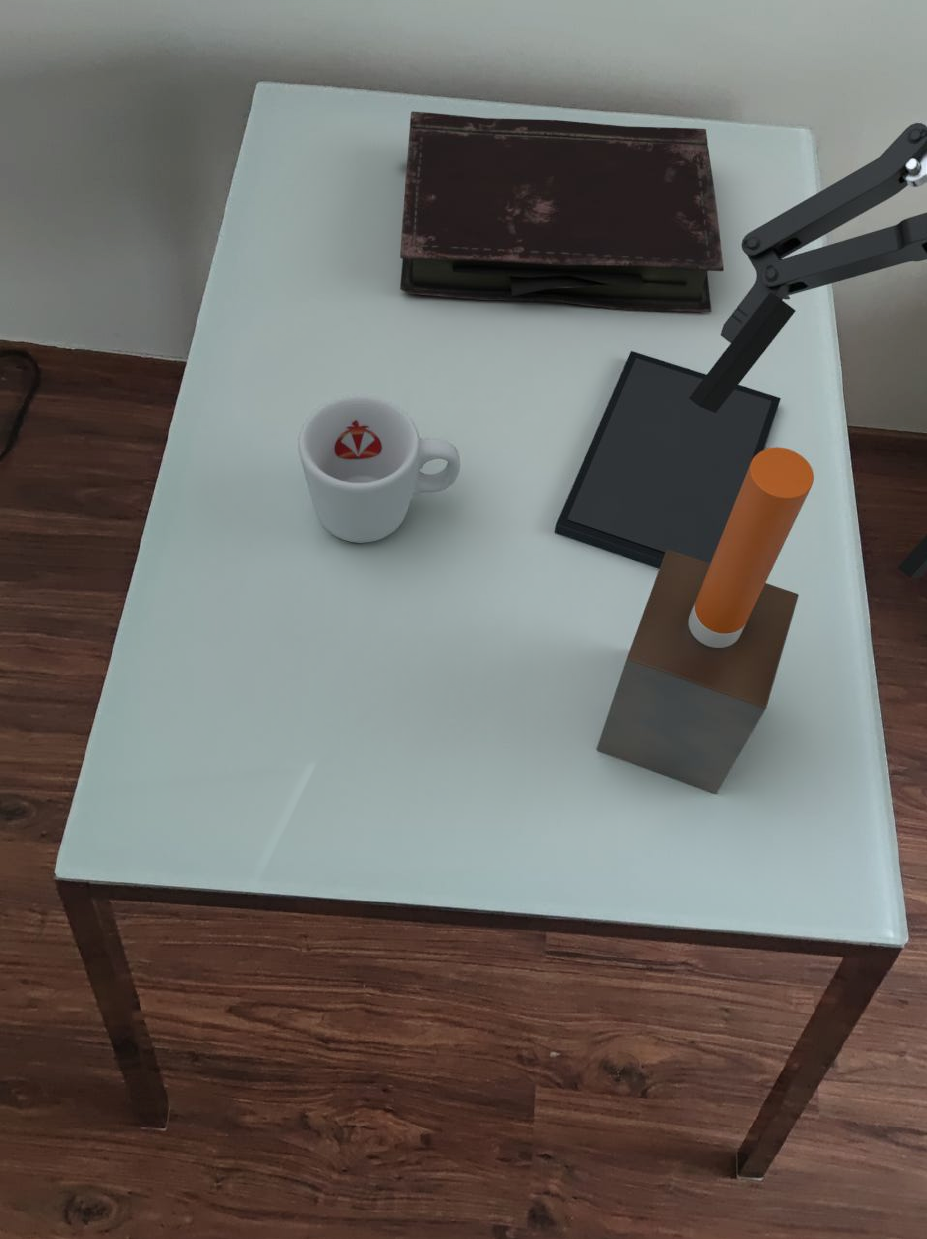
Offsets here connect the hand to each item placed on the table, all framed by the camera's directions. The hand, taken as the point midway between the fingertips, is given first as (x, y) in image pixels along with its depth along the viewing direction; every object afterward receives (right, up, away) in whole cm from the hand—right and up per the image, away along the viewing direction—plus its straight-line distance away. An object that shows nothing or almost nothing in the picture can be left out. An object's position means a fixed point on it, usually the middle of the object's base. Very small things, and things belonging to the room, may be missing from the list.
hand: (800, 486), depth 61 cm
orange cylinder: (-3, -7, +7) cm, 11 cm away
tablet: (-2, +5, +28) cm, 29 cm away
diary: (-9, +26, +41) cm, 49 cm away
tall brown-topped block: (-3, -13, +18) cm, 22 cm away
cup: (-23, +1, +25) cm, 34 cm away
